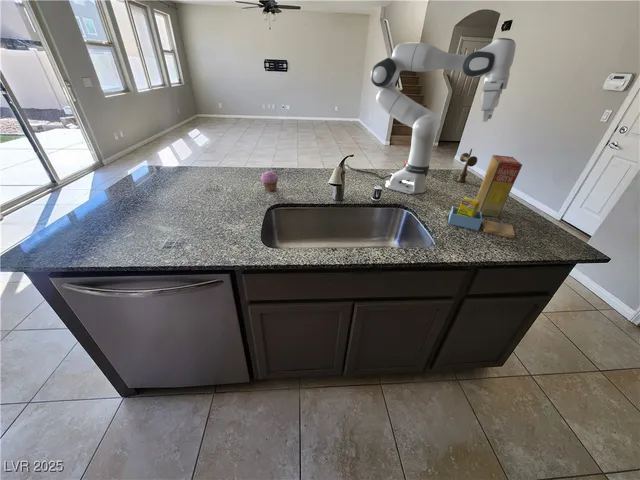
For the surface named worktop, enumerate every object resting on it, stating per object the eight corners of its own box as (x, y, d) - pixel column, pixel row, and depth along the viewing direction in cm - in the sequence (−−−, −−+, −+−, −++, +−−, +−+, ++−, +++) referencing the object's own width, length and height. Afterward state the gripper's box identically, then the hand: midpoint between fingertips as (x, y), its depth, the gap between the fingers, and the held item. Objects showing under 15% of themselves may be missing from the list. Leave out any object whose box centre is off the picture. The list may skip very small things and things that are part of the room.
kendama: (460, 184, 162) (471, 150, 151) (452, 178, 170) (462, 146, 159) (469, 184, 162) (481, 150, 151) (461, 178, 170) (472, 146, 159)
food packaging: (499, 217, 124) (523, 164, 111) (477, 214, 127) (498, 161, 113) (493, 206, 135) (514, 156, 122) (472, 203, 137) (491, 154, 124)
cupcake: (273, 194, 138) (272, 175, 133) (259, 191, 141) (257, 173, 136) (281, 188, 146) (280, 170, 140) (267, 186, 148) (266, 168, 143)
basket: (448, 223, 118) (451, 213, 115) (449, 215, 124) (452, 205, 122) (478, 230, 113) (482, 220, 111) (477, 221, 120) (481, 211, 118)
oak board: (483, 231, 112) (484, 228, 112) (482, 222, 120) (483, 219, 119) (513, 238, 109) (515, 235, 108) (510, 228, 116) (512, 225, 115)
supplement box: (453, 222, 119) (461, 199, 113) (458, 218, 122) (466, 196, 117) (467, 227, 115) (476, 204, 109) (472, 222, 119) (480, 200, 113)
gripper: (490, 84, 123) (483, 117, 130) (482, 86, 109) (474, 123, 116) (506, 83, 119) (498, 117, 126) (500, 85, 105) (491, 123, 112)
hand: (486, 120), depth 121 cm, fingers open, 8 cm apart
